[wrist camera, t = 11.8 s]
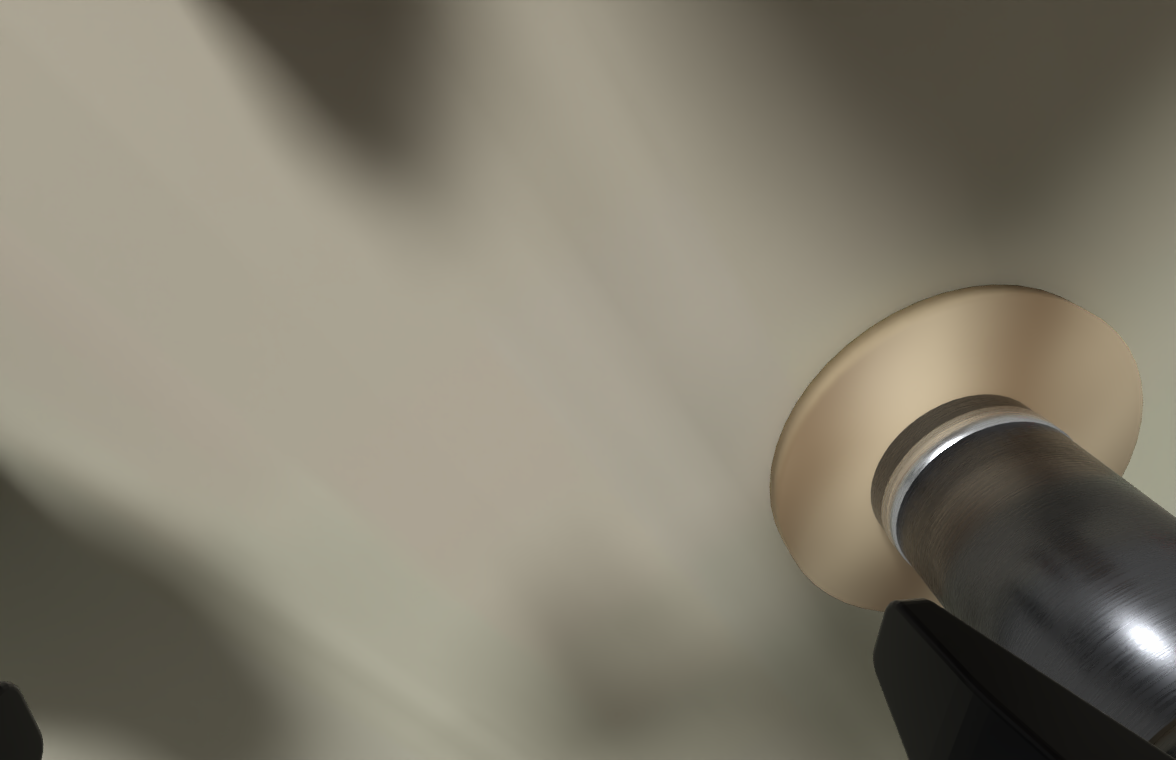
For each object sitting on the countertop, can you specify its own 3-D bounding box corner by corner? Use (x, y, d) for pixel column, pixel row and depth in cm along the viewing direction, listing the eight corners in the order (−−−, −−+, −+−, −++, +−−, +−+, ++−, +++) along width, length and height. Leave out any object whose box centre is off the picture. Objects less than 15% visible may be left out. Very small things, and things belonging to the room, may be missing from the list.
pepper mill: (847, 546, 24) (1139, 976, 14) (901, 389, 22) (1315, 772, 11) (1054, 544, 26) (1463, 933, 15) (1129, 397, 23) (1690, 743, 12)
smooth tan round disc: (748, 606, 26) (758, 626, 26) (799, 290, 21) (814, 304, 20) (1051, 578, 28) (1070, 597, 27) (1174, 278, 22) (1203, 290, 22)
